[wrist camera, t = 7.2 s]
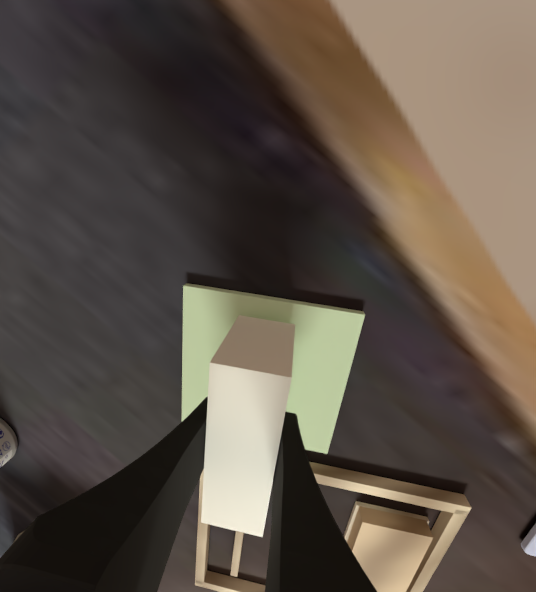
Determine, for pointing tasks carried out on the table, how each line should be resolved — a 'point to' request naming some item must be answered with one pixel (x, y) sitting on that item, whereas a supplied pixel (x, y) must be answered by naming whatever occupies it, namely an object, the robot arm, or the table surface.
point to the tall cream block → (245, 422)
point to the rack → (448, 502)
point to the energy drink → (7, 442)
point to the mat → (306, 355)
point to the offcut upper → (389, 547)
